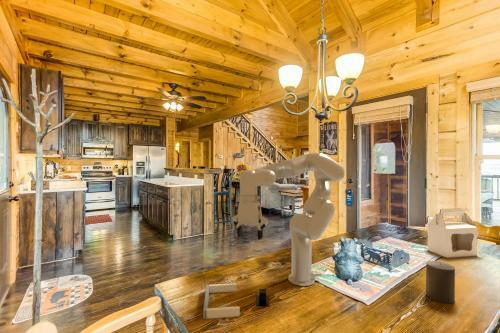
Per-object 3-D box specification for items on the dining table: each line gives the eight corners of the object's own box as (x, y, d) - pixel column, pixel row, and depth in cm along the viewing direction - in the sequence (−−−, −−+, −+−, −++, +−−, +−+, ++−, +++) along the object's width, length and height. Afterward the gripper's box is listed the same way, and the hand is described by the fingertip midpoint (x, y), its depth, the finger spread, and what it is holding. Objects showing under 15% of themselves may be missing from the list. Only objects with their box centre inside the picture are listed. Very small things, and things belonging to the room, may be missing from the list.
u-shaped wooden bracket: (236, 289, 111) (236, 283, 111) (239, 316, 92) (239, 308, 92) (206, 291, 110) (206, 284, 110) (203, 318, 90) (203, 310, 90)
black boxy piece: (271, 311, 96) (271, 299, 96) (252, 310, 97) (252, 298, 96) (270, 293, 109) (270, 283, 109) (254, 293, 109) (254, 283, 109)
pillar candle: (447, 306, 98) (447, 268, 98) (420, 294, 107) (421, 259, 107) (459, 300, 102) (460, 264, 102) (433, 289, 111) (433, 256, 111)
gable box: (446, 257, 148) (446, 211, 148) (427, 250, 161) (427, 207, 161) (477, 255, 152) (477, 210, 151) (456, 248, 165) (456, 206, 164)
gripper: (270, 198, 107) (271, 237, 108) (235, 196, 115) (236, 233, 115) (263, 200, 101) (264, 242, 101) (227, 198, 108) (228, 237, 109)
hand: (249, 237), depth 108 cm, fingers open, 9 cm apart
